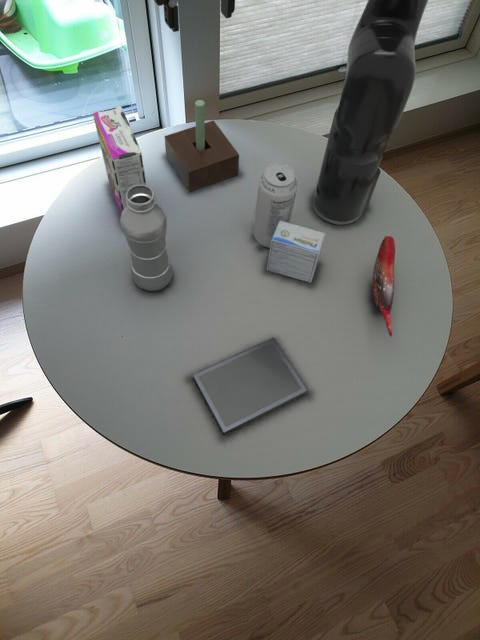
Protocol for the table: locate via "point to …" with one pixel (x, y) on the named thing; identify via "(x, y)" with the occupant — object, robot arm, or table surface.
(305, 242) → the medicine box
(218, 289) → the table surface
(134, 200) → the plastic bottle
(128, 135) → the candy bar box
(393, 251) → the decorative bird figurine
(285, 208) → the energy drink can
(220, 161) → the holder
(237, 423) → the tablet
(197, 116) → the stylus
